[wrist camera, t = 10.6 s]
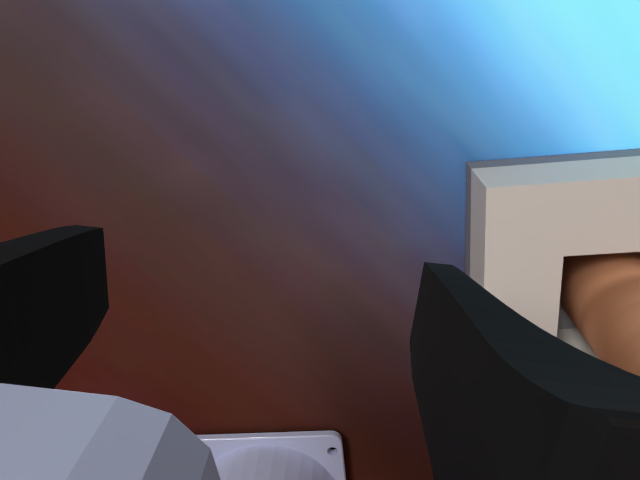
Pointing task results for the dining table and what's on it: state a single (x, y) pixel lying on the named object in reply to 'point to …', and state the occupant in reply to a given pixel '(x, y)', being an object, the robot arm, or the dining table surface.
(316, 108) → the dining table surface
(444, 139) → the dining table surface
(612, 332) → the peg
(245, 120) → the dining table surface
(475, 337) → the robot arm
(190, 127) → the dining table surface
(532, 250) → the hole block
